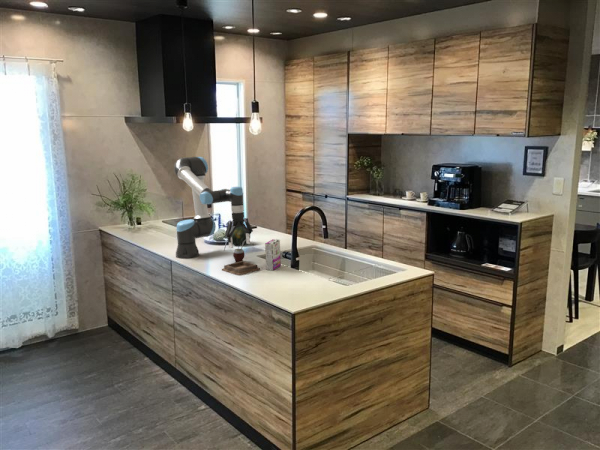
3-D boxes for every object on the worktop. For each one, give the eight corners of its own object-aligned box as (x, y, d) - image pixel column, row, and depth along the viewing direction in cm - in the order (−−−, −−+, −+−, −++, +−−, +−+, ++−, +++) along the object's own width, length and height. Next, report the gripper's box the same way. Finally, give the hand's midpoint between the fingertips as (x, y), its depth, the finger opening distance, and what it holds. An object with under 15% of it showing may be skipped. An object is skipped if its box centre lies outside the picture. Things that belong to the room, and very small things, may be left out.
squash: (222, 238, 368) (235, 223, 364) (230, 235, 383) (242, 220, 379) (237, 252, 367) (250, 237, 363) (244, 248, 382) (256, 233, 377)
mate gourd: (231, 262, 325) (230, 239, 322) (241, 259, 330) (240, 236, 327) (238, 264, 319) (237, 240, 317) (248, 261, 325) (247, 238, 322)
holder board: (221, 270, 307) (221, 265, 306) (243, 264, 318) (243, 260, 317) (238, 275, 295) (238, 270, 295) (259, 269, 306) (259, 264, 306)
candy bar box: (273, 265, 316) (272, 239, 313) (280, 265, 314) (280, 239, 311) (265, 270, 306) (264, 243, 302) (273, 270, 304) (272, 243, 301)
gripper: (224, 215, 307) (227, 250, 311) (257, 209, 324) (258, 242, 328) (217, 214, 313) (219, 248, 316) (249, 208, 330) (251, 241, 334)
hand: (239, 245), depth 322 cm, fingers open, 13 cm apart
